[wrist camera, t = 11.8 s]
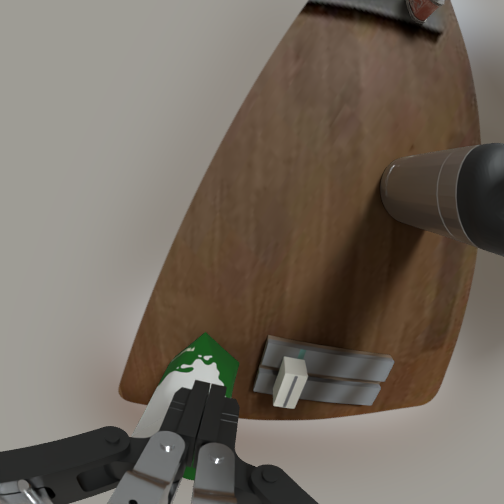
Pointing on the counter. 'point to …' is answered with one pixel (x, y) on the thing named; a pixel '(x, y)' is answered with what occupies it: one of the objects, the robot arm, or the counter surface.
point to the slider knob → (289, 382)
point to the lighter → (422, 9)
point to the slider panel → (326, 371)
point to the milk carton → (188, 382)
